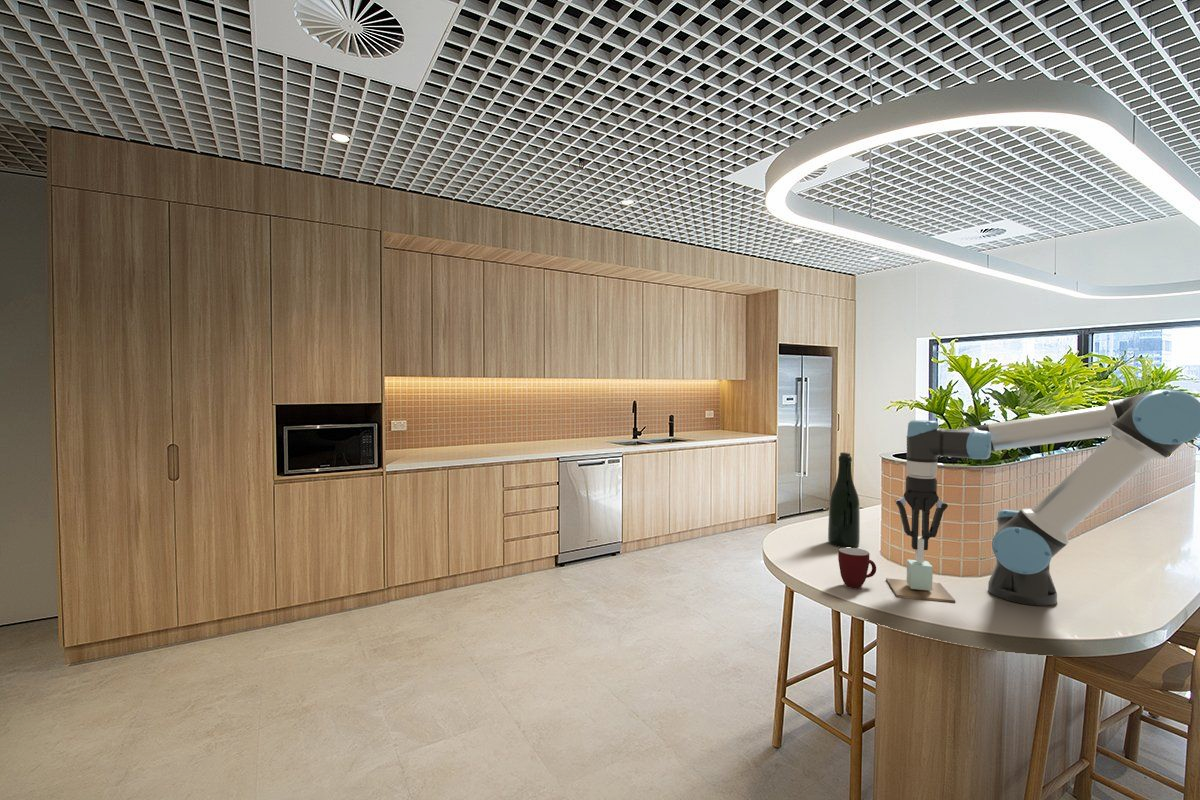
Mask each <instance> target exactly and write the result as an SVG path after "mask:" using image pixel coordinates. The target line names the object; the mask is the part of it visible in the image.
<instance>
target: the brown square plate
mask: <svg viewBox="0 0 1200 800" xmlns="http://www.w3.org/2000/svg"><path fill="white" fill-rule="evenodd" d="M885 580H886V583H887V585H889V587H890V589H891V590H892V592H893V593H894V595H895V597H896V598H903V599H904V598H905V599H906V598H907V599H914V600H925V601H934V602H943V603H944V602H947V603H953V604H956V599H955V598H954V597H953V596H952V595H951V593H950V592H948V590H947V589H946V588H945V587H944V586H943V584H942V583H940V582H933V581H932V591H930V590H919V589H911V588H910V587H909V585H908V584H907V579H898V578H889V577H887V578H886V579H885Z"/></svg>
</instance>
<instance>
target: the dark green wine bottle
mask: <svg viewBox="0 0 1200 800" xmlns="http://www.w3.org/2000/svg"><path fill="white" fill-rule="evenodd" d="M837 460H838V469H837V471H838V472H837V476H836V481H835V483H834V486H833V488H832V490H831V493H830V497H829V506H828V523H827V524H828V526H827V529H828V530H827V542H828V543H829V544H830V545H832V546H834V545H836V546H835V547H838V546H840V548H846V547H853V548H857V547H859V546H860V542H861V541H860V540H861V538H860V537H861V536H860V535H861V533H860V532H861V531H860V530H861V528H860V526H861V525H860V523H861V522H860V521H861V520H860V519H861V518H860V517H861V516H860V515H861V513H860V510H861V509H860V507H861V506H860V499H859V494H858V492H857V489H856V486H855V484H854V481H853V475H852V474H853V473H852V463H853V462H852V461H853V457H852V456H851V452H842V451H841V452H840V454H839V456H838V459H837Z"/></svg>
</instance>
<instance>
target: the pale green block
mask: <svg viewBox="0 0 1200 800" xmlns="http://www.w3.org/2000/svg"><path fill="white" fill-rule="evenodd" d="M933 569H934V566H933V565H932V564H931V563H930V562H929V561H928V560H924V563H919V562H917V561H916V560H915V559H906V580H907V584H908V585H909V587H910V588H911V589H919V590H930V591H932V582H933Z"/></svg>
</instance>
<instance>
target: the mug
mask: <svg viewBox="0 0 1200 800" xmlns="http://www.w3.org/2000/svg"><path fill="white" fill-rule="evenodd" d="M837 554H838V555H837V556H838V557H837V560H838V566H839V573H840V577H841V579H842V582H843V583H844V585H845V587H847V588H849V589H854V590H856V589H857V590H858V589H861V588H862V587H863V585H864V583H865V582H866V579H867V578H872V577H873V576H875V574H876V572H877V565H876V563H875V561H873V560H872V559H870V552H869V551H868V550H865V549H864V548H863V549H862V548H857V547H853V548H846V547H840V548H839V549H838V552H837ZM869 566H871V571H870V573H868V571H869Z"/></svg>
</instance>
